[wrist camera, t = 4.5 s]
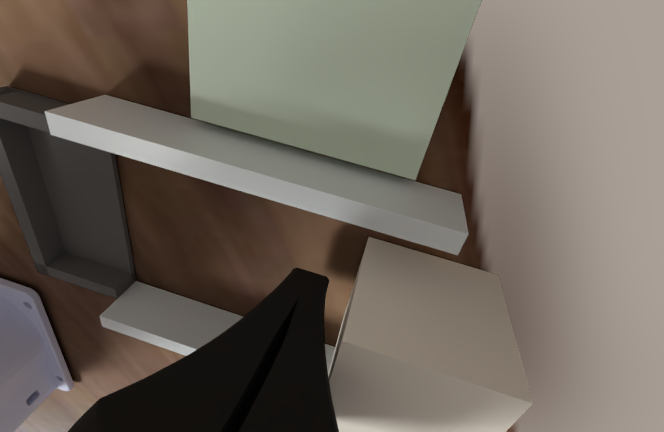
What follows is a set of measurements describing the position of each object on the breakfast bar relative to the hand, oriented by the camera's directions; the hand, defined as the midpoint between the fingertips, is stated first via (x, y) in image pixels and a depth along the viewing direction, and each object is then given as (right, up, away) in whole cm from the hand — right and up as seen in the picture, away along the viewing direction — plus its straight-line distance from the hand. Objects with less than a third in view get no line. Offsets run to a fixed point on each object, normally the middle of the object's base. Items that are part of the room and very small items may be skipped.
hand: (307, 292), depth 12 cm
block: (+4, -1, +1) cm, 4 cm away
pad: (+1, +8, -3) cm, 9 cm away
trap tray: (-9, +3, +2) cm, 10 cm away
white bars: (-2, +1, +1) cm, 3 cm away
